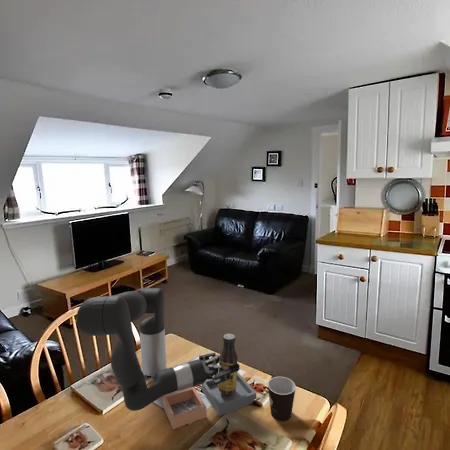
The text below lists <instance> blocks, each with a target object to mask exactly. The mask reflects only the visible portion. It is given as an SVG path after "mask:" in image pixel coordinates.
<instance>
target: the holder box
mask: <svg viewBox="0 0 450 450" xmlns="http://www.w3.org/2000/svg"><path fill="white" fill-rule="evenodd" d="M161 398H162V407H163V409H164V411H165V414H166V416H167V419H168V421H169V424H170V426H171V428H172V430H175V429H177V428H181V427H183V426H185V425H188V424H190V423H194V422H197V421H199V420H202V419H204V418H207V416H208V414H207V406H206V403H204V400H203V399H202V397H201V396H200V394H199V393H198V391H197V389H196V387H192V388H188V389H185V390H180V391H176V392H173V393H170V394H166V395H164V396H162V397H161ZM192 398H193V399H192ZM191 399H192V400H193V402H194V404H195V405H196V407H195V408H192V409H189V410H186V411H184V412H181V413H178V414H177V415H176V414H175V413H174V411H173V409H172V407H171V406H174V405H176V404H179V403H182V402H185V401H189V400H191Z"/></svg>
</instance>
